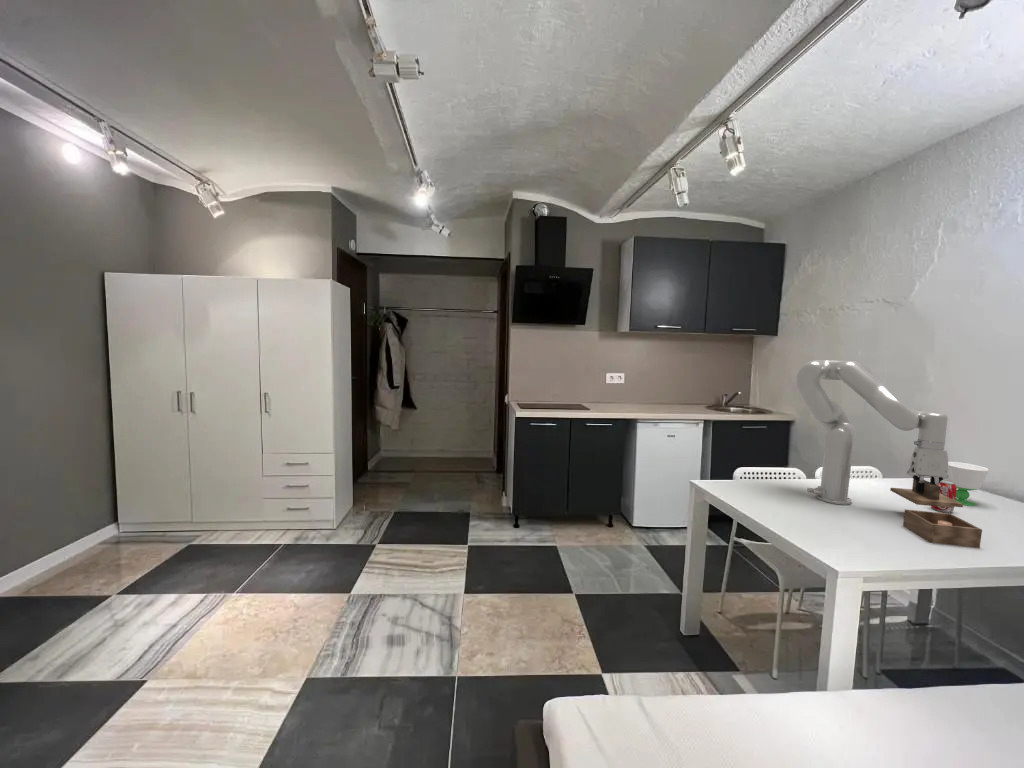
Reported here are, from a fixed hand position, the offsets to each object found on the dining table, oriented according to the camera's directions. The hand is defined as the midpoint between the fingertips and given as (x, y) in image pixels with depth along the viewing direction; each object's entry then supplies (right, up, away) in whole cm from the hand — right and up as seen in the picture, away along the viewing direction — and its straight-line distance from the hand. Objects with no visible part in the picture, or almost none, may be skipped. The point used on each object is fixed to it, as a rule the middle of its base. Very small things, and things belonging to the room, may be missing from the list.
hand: (925, 492), depth 174 cm
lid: (0, -2, 0) cm, 2 cm away
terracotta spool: (-7, -11, -15) cm, 20 cm away
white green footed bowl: (+36, -10, +23) cm, 44 cm away
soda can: (+17, -10, +12) cm, 23 cm away
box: (-11, -12, -17) cm, 23 cm away
